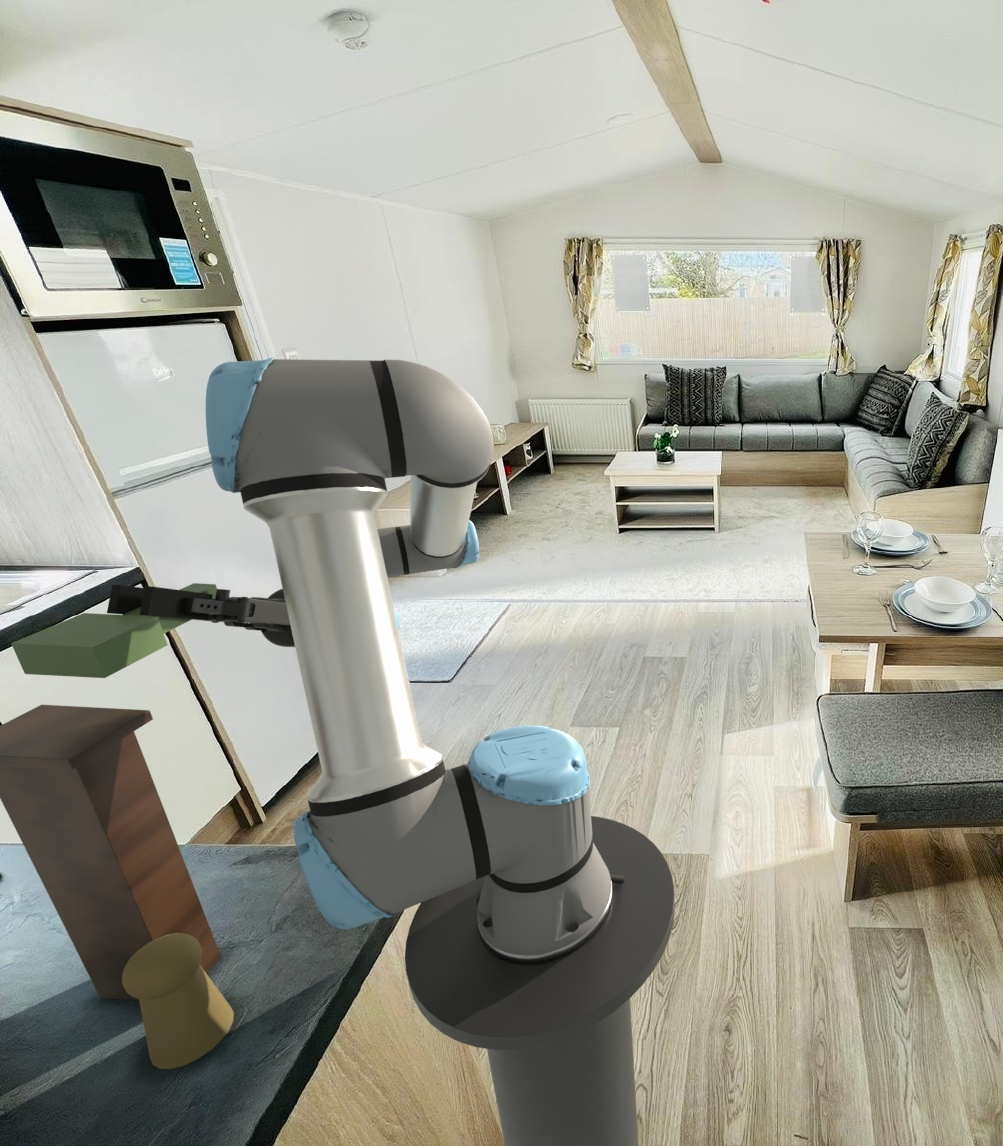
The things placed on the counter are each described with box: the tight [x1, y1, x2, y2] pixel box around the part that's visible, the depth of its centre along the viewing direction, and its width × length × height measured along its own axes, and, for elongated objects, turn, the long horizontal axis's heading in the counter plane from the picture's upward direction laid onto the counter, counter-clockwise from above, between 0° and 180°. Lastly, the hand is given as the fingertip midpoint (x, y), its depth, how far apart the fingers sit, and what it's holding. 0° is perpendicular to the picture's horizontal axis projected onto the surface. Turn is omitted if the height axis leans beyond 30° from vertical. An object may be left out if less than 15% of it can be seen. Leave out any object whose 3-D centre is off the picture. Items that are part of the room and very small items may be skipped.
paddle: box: [11, 582, 218, 679], centre depth 61 cm, size 7×15×3 cm, turn 178°
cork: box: [122, 933, 235, 1070], centre depth 58 cm, size 6×6×11 cm
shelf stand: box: [0, 704, 222, 1002], centre depth 60 cm, size 10×7×30 cm
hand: (130, 599), depth 60 cm, fingers closed on paddle, 2 cm apart
